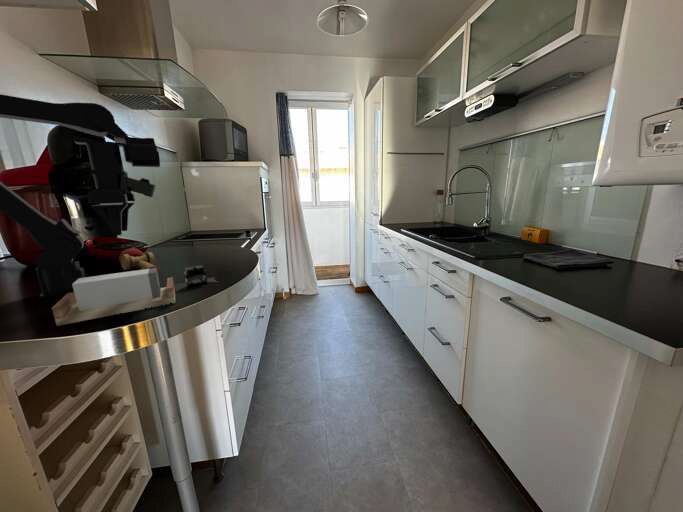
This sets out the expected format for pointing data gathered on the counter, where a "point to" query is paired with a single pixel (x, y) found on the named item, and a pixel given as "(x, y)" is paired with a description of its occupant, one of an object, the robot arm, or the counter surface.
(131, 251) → the kendama
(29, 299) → the counter surface
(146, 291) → the grey-ended white block
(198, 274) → the dark piece
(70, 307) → the cradle
